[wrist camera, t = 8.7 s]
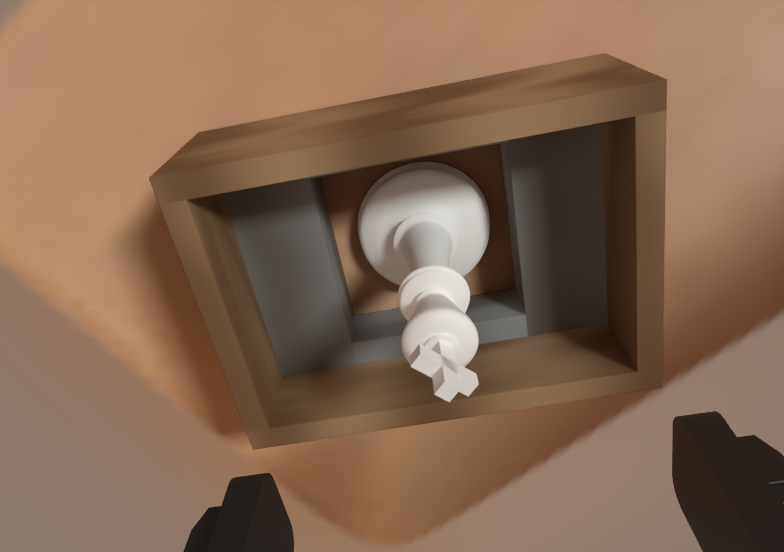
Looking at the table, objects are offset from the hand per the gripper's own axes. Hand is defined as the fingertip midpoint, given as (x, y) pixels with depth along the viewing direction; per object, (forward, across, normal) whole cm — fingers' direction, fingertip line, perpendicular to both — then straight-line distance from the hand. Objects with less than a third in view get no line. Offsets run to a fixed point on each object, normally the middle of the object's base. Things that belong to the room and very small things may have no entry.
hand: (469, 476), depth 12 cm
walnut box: (+12, +1, 0) cm, 12 cm away
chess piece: (+12, 0, 0) cm, 12 cm away
